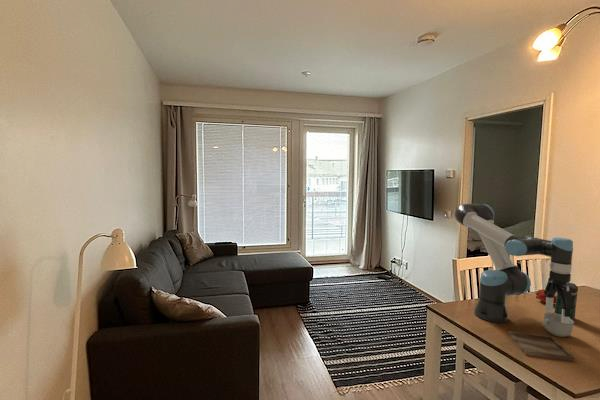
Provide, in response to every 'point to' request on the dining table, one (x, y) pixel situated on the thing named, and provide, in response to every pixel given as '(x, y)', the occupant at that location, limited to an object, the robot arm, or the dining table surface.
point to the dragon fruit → (543, 296)
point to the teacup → (557, 325)
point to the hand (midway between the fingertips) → (556, 316)
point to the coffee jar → (574, 296)
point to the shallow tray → (540, 346)
